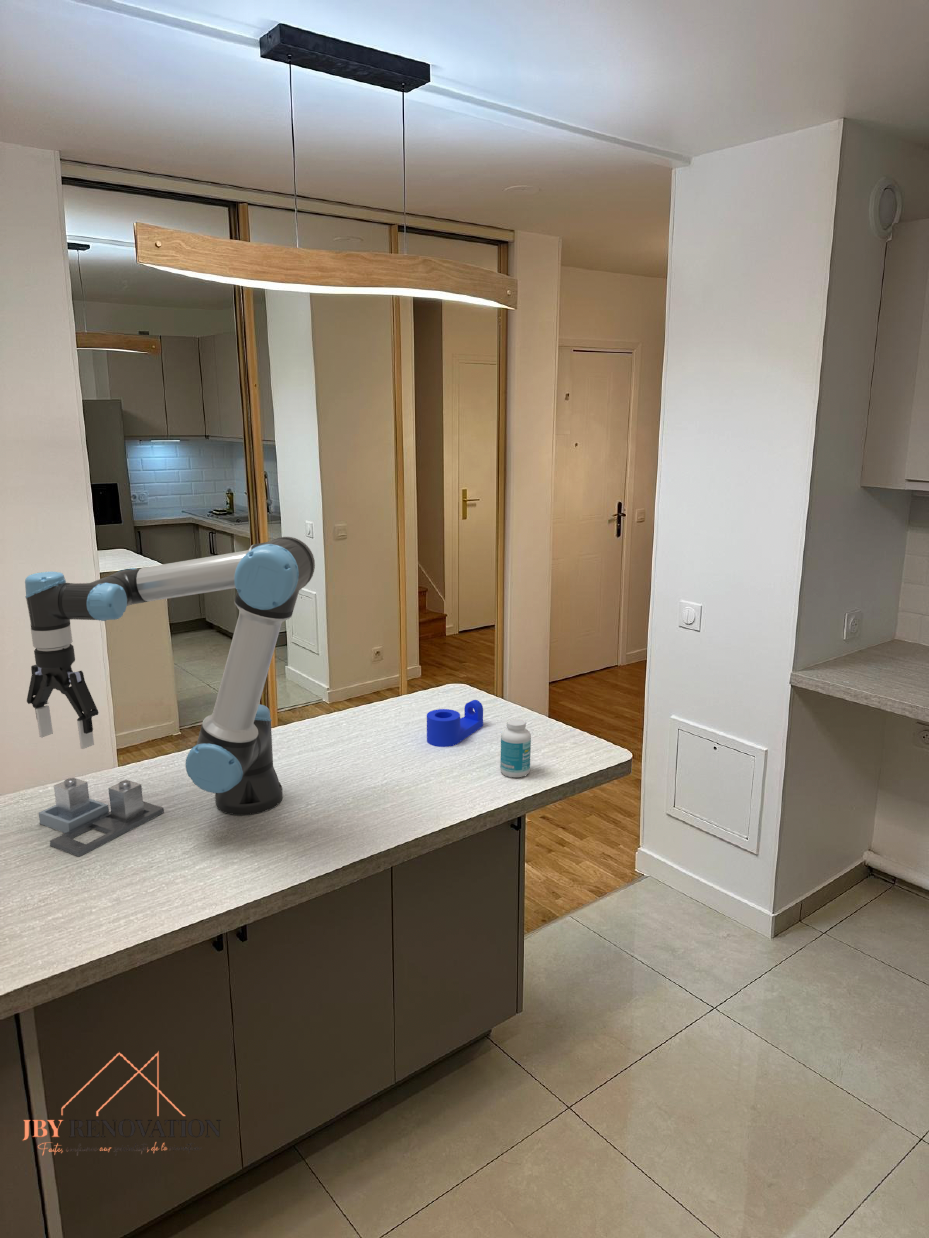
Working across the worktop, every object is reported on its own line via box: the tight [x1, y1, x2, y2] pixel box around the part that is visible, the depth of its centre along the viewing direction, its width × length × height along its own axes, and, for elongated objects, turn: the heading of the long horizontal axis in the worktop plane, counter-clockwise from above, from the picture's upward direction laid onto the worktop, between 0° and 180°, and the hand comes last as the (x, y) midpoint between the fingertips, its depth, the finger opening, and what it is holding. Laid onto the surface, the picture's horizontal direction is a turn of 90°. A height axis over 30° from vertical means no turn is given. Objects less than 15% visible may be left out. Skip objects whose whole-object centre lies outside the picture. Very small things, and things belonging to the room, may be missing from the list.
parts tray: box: [38, 797, 110, 834], centre depth 188 cm, size 10×10×3 cm
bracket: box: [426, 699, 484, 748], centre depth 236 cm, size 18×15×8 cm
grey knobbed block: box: [107, 779, 144, 824], centre depth 188 cm, size 5×5×9 cm
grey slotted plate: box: [49, 800, 165, 858], centre depth 185 cm, size 22×9×1 cm, turn 151°
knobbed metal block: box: [53, 777, 91, 821], centre depth 187 cm, size 5×5×9 cm
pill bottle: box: [499, 718, 532, 778], centre depth 211 cm, size 8×7×14 cm
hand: (66, 740), depth 184 cm, fingers open, 13 cm apart
